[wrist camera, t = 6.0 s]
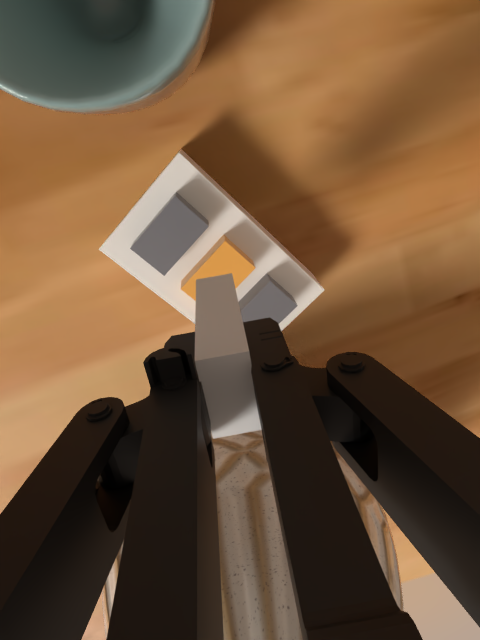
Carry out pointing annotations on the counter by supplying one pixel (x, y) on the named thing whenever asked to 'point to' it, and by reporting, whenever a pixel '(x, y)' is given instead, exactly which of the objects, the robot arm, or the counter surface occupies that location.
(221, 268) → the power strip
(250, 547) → the vase
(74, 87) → the cup
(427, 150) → the counter surface
